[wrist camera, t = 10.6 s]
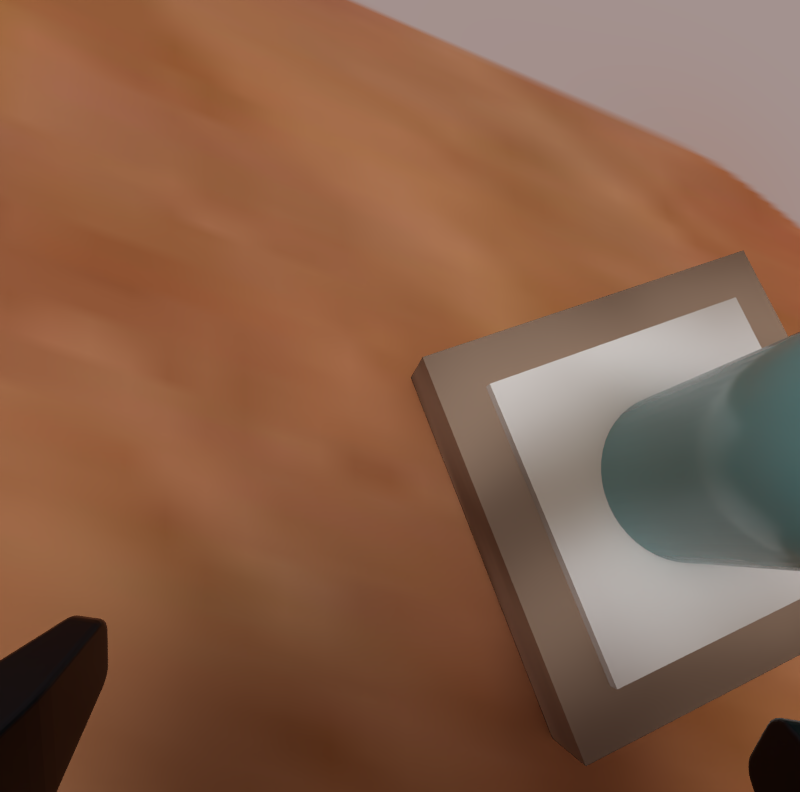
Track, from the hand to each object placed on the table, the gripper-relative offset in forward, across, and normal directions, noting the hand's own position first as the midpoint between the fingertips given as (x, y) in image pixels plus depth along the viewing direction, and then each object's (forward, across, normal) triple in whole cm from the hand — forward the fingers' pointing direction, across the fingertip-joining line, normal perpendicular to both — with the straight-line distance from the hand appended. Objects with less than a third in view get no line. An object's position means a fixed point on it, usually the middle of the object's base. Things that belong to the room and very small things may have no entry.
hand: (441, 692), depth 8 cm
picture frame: (+12, -8, +2) cm, 15 cm away
